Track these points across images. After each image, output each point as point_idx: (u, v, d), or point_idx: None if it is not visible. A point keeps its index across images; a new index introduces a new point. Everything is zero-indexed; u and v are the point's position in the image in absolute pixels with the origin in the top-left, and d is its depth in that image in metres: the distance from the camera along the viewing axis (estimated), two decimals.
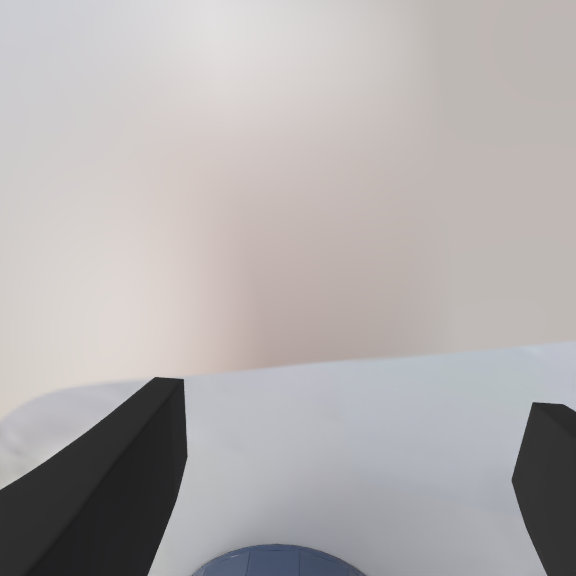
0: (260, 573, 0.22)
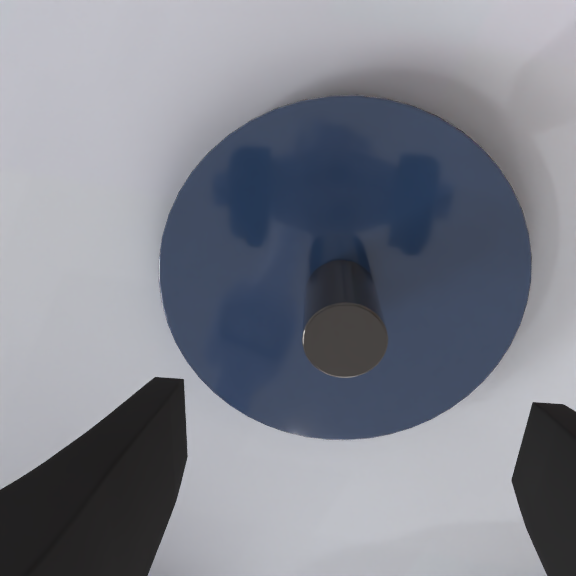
0: None
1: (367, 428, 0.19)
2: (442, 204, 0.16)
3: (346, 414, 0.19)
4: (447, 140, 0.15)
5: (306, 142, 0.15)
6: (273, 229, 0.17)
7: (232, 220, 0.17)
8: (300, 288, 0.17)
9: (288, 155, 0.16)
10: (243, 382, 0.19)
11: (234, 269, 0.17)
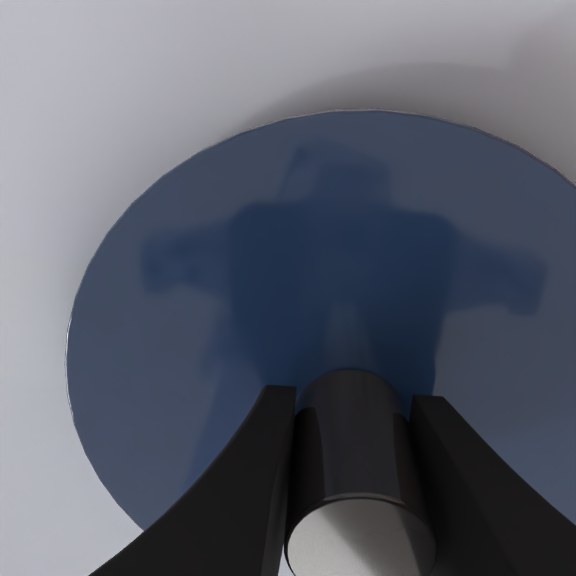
0: None
1: None
2: (517, 287, 0.10)
3: None
4: (532, 185, 0.09)
5: (291, 188, 0.09)
6: (241, 322, 0.10)
7: (175, 308, 0.10)
8: None
9: (263, 209, 0.09)
10: None
11: (182, 380, 0.11)
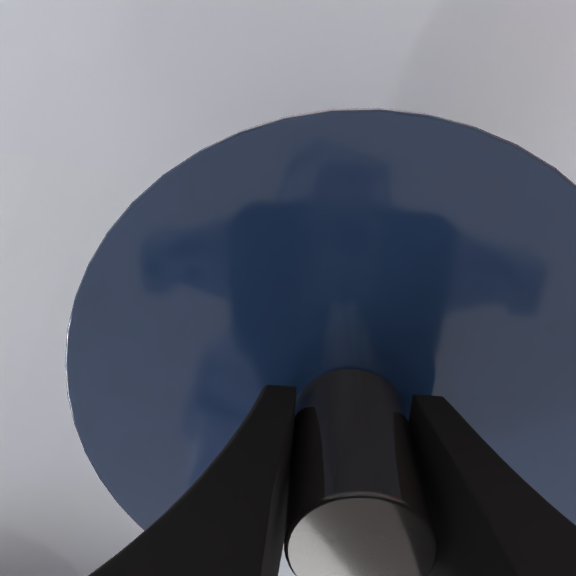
0: None
1: None
2: (517, 286, 0.10)
3: None
4: (532, 185, 0.09)
5: (292, 187, 0.09)
6: (242, 321, 0.10)
7: (176, 307, 0.10)
8: None
9: (263, 208, 0.09)
10: None
11: (182, 379, 0.11)
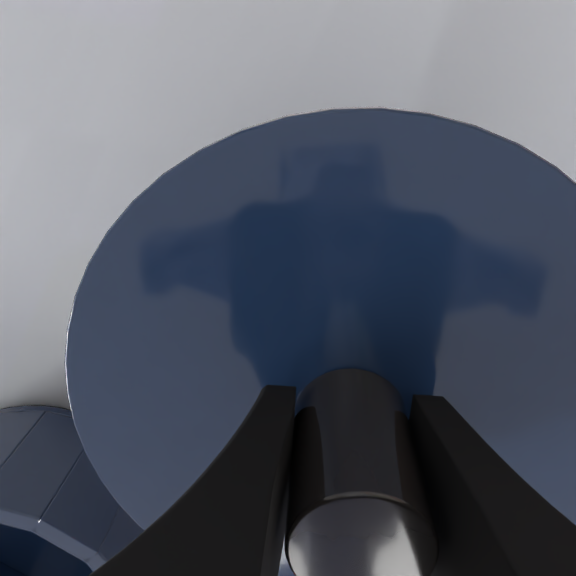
0: None
1: None
2: (518, 286, 0.10)
3: None
4: (533, 183, 0.09)
5: (292, 186, 0.09)
6: (242, 321, 0.10)
7: (176, 307, 0.10)
8: None
9: (263, 207, 0.09)
10: None
11: (182, 379, 0.11)
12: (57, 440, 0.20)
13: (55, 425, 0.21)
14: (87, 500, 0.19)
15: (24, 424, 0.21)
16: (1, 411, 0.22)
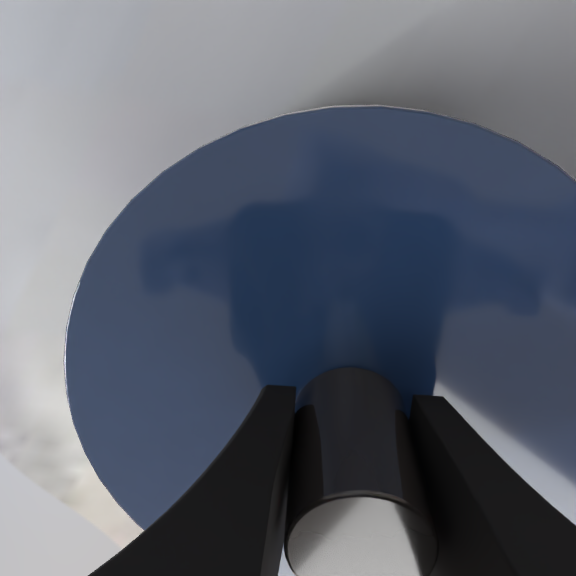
0: None
1: None
2: (518, 284, 0.10)
3: None
4: (533, 182, 0.09)
5: (292, 184, 0.09)
6: (241, 320, 0.10)
7: (175, 306, 0.10)
8: None
9: (263, 205, 0.09)
10: None
11: (182, 378, 0.11)
12: None
13: None
14: None
15: None
16: None
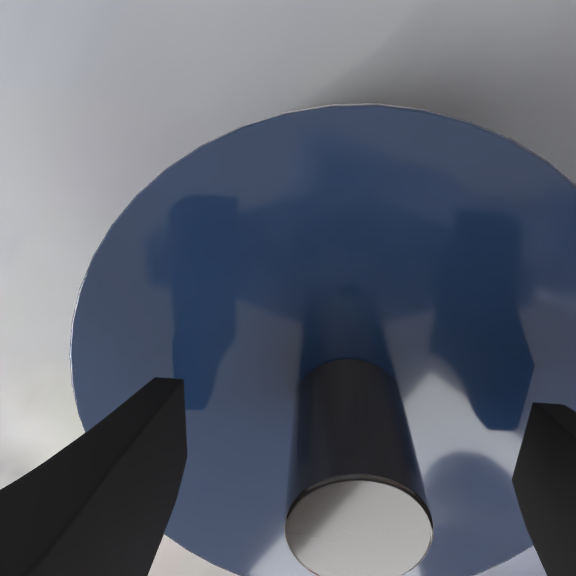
0: None
1: None
2: (512, 278, 0.10)
3: None
4: (526, 178, 0.09)
5: (292, 181, 0.09)
6: (243, 313, 0.11)
7: (178, 299, 0.11)
8: (287, 396, 0.11)
9: (264, 201, 0.10)
10: (205, 521, 0.13)
11: (185, 370, 0.11)
12: None
13: None
14: None
15: None
16: None
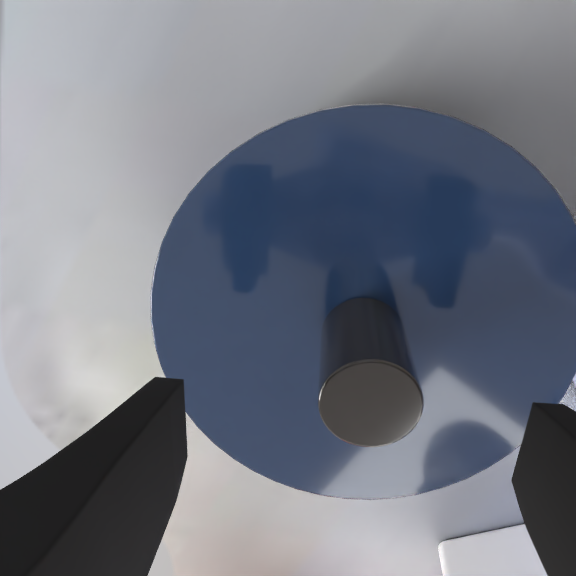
0: None
1: (391, 487, 0.17)
2: (486, 234, 0.13)
3: (367, 471, 0.17)
4: (495, 158, 0.13)
5: (324, 160, 0.13)
6: (284, 261, 0.14)
7: (236, 250, 0.14)
8: (315, 328, 0.15)
9: (302, 175, 0.13)
10: (248, 433, 0.16)
11: (238, 306, 0.15)
12: None
13: None
14: None
15: None
16: None
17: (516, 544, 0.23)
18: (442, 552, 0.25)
